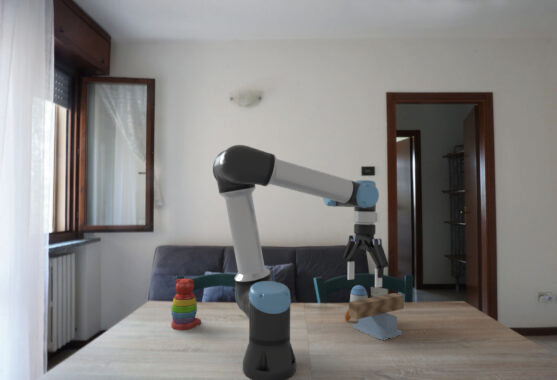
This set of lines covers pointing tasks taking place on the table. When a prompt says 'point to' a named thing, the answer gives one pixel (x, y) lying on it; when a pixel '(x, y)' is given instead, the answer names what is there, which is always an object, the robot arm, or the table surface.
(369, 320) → the slate ridge
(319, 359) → the table surface
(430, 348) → the table surface
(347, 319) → the toy rocket
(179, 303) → the stacking bear
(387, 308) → the walnut bar
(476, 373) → the table surface
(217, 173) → the robot arm
